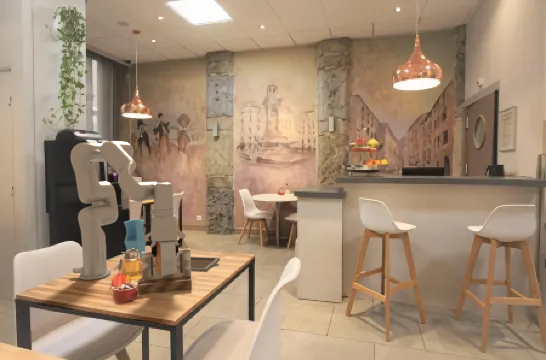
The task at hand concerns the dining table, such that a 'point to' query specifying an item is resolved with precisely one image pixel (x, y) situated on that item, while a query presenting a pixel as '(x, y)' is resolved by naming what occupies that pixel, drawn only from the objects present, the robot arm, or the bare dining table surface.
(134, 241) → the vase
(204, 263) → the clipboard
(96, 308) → the dining table surface
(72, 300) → the dining table surface
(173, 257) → the small box
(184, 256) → the display ledge
